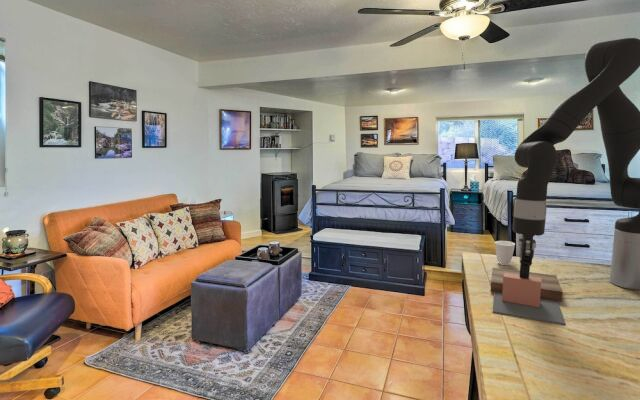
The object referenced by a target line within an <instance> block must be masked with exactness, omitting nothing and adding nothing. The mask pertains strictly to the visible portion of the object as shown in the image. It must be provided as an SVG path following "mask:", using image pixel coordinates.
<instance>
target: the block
mask: <svg viewBox="0 0 640 400" xmlns="http://www.w3.org/2000/svg"><path fill="white" fill-rule="evenodd" d="M540 292H541V278H538V277H531V276H529V278H528V279H526V278H520V275H518V274H511V273H504V276H503V291H502V300H503V301H508V302H513V303H518V304H524V305H529V306H534V307H539V306H540Z"/></svg>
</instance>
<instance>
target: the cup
mask: <svg viewBox="0 0 640 400" xmlns="http://www.w3.org/2000/svg"><path fill="white" fill-rule="evenodd" d="M494 246H495V248H494V249H495V256H496V260H497V262H499V264H501V265H500V266H503V265H506V266H505V267H507V265H509V266H510V265H511V262H512V260H513V255H514V251H515V246H516V243H515V242H513V241H509V240H496V241H494ZM500 262H501V263H500ZM499 264H498V265H499Z"/></svg>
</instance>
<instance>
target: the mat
mask: <svg viewBox="0 0 640 400" xmlns="http://www.w3.org/2000/svg"><path fill="white" fill-rule="evenodd" d="M492 304H493V305H492V313H493V314H498V315H504V316H509V317H516V318H517V317H518V318H522V319H528V320H534V321H539V322H544V323H549V324H550V323H551V324H556V325H563V326H566V321H565V318H564V315H563V312H562V309H561V306H560V303H559V301H553V300H546V299H540V306H539V307H534V306H529V305H524V304H518V303H513V302H508V301H503V300H502V293H499V292H493V301H492Z"/></svg>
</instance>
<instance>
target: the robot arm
mask: <svg viewBox="0 0 640 400" xmlns="http://www.w3.org/2000/svg"><path fill="white" fill-rule="evenodd" d="M639 67H640V39H639V38H636V37H625V38H620V39H613V40H607V41H600V42H598V43H595V44H593V45H591V46H590V48H589V49H588V50H587V52H586V54H585V57H584V70H585V74H586V77H587V81H588V84H586V85H584V86H583V87H581V88H580V89H579V90H577V91H576V92H574V93H573V94H571V95H570V96H568V97H567V98H565V99H564V100H562V102H561V103H559V104H558V105H557V106H556V107H555V109H553V111H552V112H551V113H550V114H549V116H548V117H547V118H546V119H545V120H544V122H542V124H541V126H539V127H538V128H536V129H534V131H533V132H532V133H530V134H529V135H528V136H527V137H526V138H524V140H522V141H521V142H520V144H519V145H518V147H516V149H515V152H514V161H515V163H516V165H517V166H519V167H522V168H525V169H527V171H526V174H525V176H524V177H522V178H521V177H520V178H519V179H518V181H517V185H516V194H515V195H516V196H515V203H514V207H513V216H512V217H513V218H512V219H513V220H512V231H513V233H515V234H519V235H521V237H522V238H521V237H519V238H518V256H519V271H520V278H526V279H528V278H529V272H530V268H531V266H532V264H533V258H534V257H535V249H536V248H537V246H536V245H537V241H536V239H534V237H535V236H537V237H538V236H543V235H545V230H546V229H545V228H546V219H547V218H546V217H547V197H548V185H549V182H550V180H551V178H552V175H553V173H554V170H555V167H556V164H557V160H558V154H557V153H558V152H557V149H556V147H555V145H556V144H560V143H563V142H564V141H566V140H567V139H568V138H569V137H570V136H571V135H572V133H574V131H575V130H576V129H577V128H578V127H579V125H580V124H581V123H582V122H583V120H584V119H585V118H586V117H587V116H588V115H589V114H590V113H591V112H592V111H594V109H595V108H596V111H597V114H598V118H599V124H600V131H601V136H602V141H603V145H604V148H605V154H606V158H607V165H608V174H609V188H610V196H611V200H612V202H613V204H615V206H618V207H622V208H629V209H638V210H639V211H638V214H637V215H635V216H630V217H624V218H619V219H616V220H615V223H614V232H613V233H614V234H613V243H612V251H611V252H612V253H611V261H610V262H611V264H610V273H609V282H610V283H611V284H612V285H614V286H618V287H619V288H620V287H621V288H624V289H629V290H639V291H640V177H630V176H629V171H628V170H629V165H630V163H631V162H632V161H633V159H634V158H635V157H636V156H637V154H638V153H639V151H640V109H639V108H638V107H637V106H636V105H635V103H634V102H633V101H632V100H631V99H629V98H628V97H627V95H626V94H625V93H624V92H623V91H622V89H621V85H622V84H623V83H624V82H625V81H627V80H628V79H629V78H630V77H632V75H634V74H635V73H636V72H637V70H638V69H639Z"/></svg>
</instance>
